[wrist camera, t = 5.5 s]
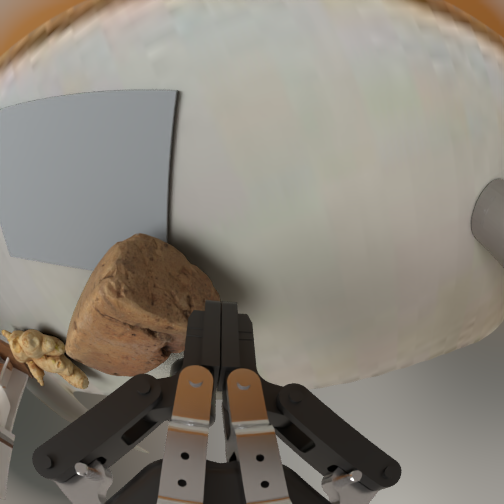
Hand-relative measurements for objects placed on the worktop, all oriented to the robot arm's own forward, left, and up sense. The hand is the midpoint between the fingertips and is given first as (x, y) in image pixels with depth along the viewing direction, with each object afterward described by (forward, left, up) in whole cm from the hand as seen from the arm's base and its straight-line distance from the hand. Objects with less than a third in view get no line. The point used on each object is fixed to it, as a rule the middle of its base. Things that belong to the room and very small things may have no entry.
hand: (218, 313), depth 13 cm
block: (+3, +4, -6) cm, 8 cm away
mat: (+16, 0, -12) cm, 20 cm away
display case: (+44, +37, -12) cm, 59 cm away
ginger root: (+29, +28, -13) cm, 42 cm away
